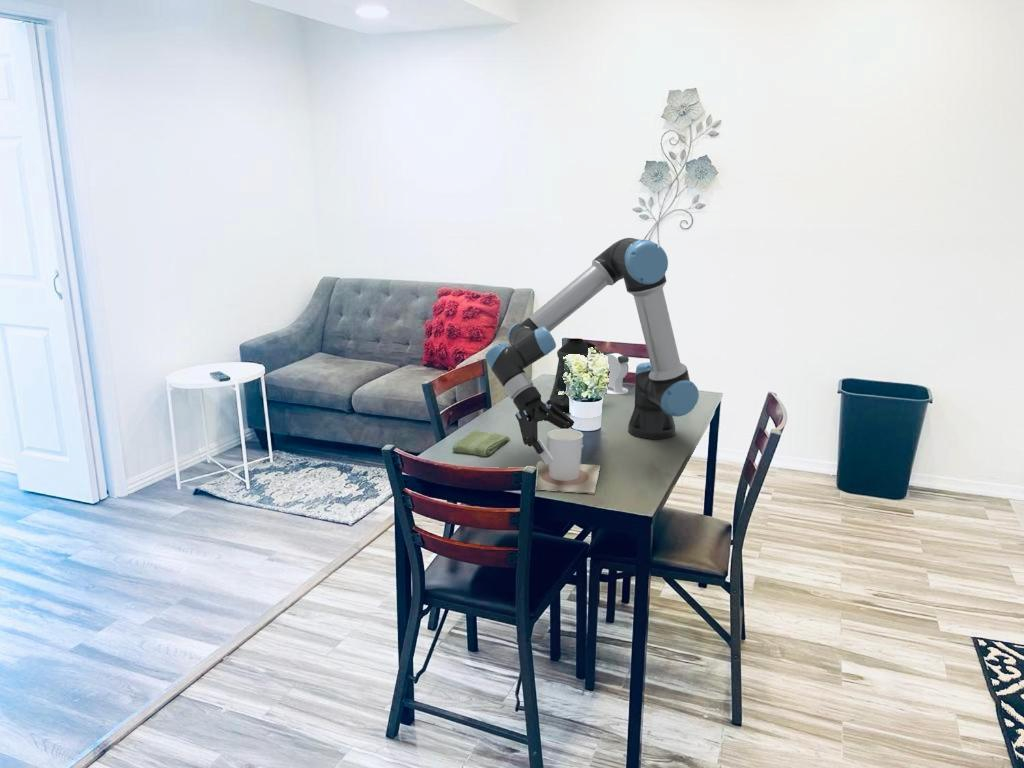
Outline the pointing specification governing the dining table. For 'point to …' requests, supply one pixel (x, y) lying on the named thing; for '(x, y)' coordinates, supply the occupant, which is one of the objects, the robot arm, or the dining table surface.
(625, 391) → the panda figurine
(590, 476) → the card
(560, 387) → the black tall bulky piece
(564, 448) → the white tapered cylinder
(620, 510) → the dining table surface
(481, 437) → the washcloth
